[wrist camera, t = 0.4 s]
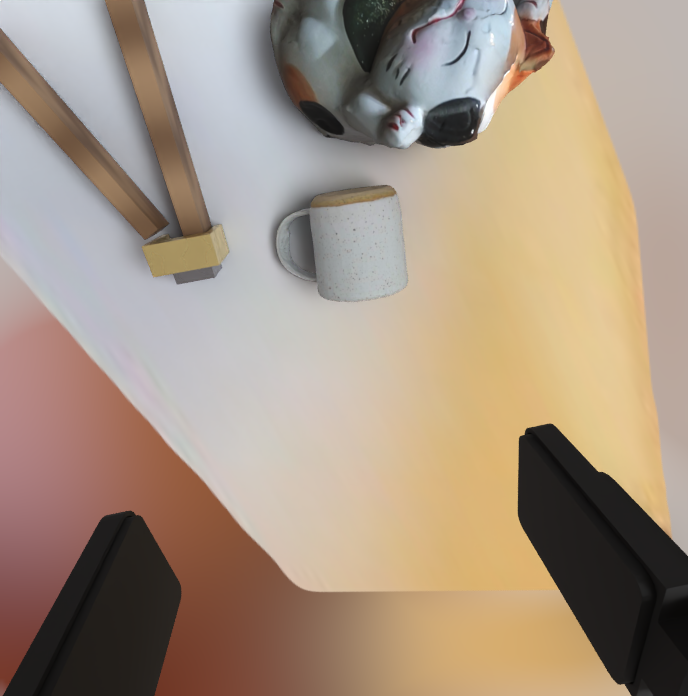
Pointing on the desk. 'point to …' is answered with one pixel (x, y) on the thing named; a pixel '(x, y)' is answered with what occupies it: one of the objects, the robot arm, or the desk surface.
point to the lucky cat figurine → (406, 64)
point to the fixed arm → (159, 112)
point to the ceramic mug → (352, 244)
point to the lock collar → (186, 252)
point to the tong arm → (76, 140)
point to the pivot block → (197, 274)
